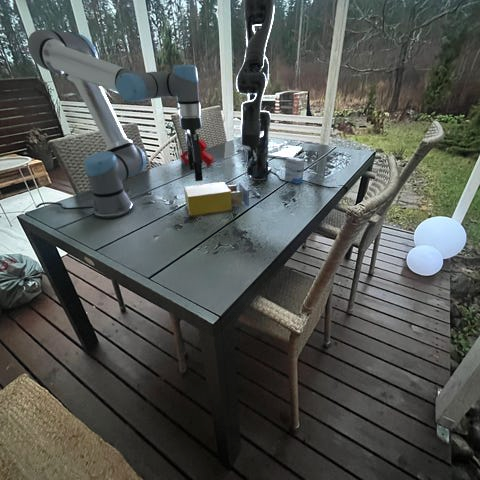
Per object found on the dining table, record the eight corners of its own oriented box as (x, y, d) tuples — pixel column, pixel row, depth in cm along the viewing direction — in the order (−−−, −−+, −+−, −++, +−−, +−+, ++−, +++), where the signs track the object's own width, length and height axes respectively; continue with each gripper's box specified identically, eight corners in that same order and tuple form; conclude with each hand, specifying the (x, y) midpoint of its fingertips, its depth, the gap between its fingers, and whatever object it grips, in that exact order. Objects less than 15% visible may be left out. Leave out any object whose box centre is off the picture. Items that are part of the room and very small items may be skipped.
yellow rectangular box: (224, 200, 123) (223, 181, 119) (231, 211, 114) (231, 191, 110) (186, 206, 119) (183, 186, 114) (190, 217, 110) (188, 196, 105)
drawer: (252, 195, 126) (253, 180, 122) (260, 204, 118) (261, 188, 114) (207, 201, 120) (206, 186, 117) (212, 211, 112) (211, 195, 108)
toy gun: (217, 159, 166) (202, 137, 162) (214, 161, 163) (199, 139, 159) (198, 174, 176) (183, 154, 172) (195, 176, 173) (180, 156, 169)
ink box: (302, 181, 142) (305, 159, 136) (297, 184, 139) (300, 161, 133) (289, 177, 147) (291, 156, 141) (284, 180, 144) (285, 158, 138)
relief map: (291, 159, 177) (291, 151, 174) (243, 153, 190) (243, 145, 187) (302, 149, 197) (303, 142, 194) (258, 144, 211) (258, 137, 208)
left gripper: (175, 112, 105) (181, 166, 116) (184, 123, 85) (191, 187, 96) (194, 111, 107) (199, 164, 118) (208, 121, 87) (212, 184, 98)
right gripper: (236, 129, 110) (236, 171, 119) (247, 135, 99) (246, 181, 108) (253, 128, 112) (252, 169, 121) (266, 134, 101) (264, 179, 110)
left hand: (195, 175), depth 107 cm, fingers open, 13 cm apart
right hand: (250, 174), depth 115 cm, fingers closed
